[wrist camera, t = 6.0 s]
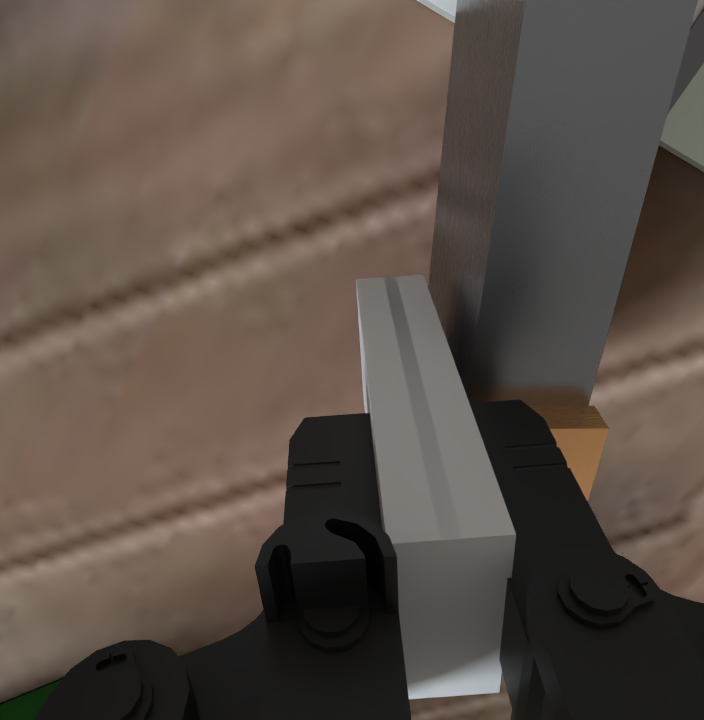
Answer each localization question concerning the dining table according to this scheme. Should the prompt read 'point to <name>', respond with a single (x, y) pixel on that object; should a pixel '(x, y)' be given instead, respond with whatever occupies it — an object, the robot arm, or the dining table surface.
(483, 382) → the bar
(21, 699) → the milk carton
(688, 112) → the door plate
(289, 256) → the dining table surface
